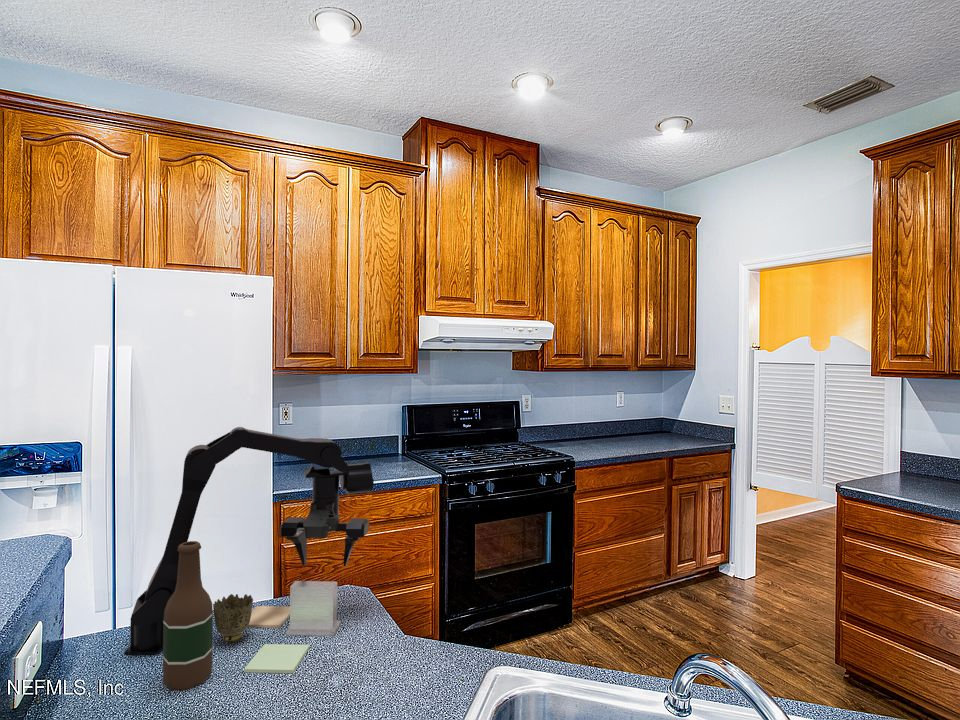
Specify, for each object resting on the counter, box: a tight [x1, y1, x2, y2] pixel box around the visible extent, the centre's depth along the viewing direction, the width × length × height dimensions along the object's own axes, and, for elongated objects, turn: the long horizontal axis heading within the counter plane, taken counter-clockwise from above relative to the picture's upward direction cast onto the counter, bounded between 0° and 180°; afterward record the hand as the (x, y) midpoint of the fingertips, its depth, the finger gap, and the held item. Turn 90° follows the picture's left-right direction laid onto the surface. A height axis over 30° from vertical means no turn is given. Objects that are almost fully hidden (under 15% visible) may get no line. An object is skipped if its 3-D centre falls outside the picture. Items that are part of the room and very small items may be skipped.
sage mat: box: [243, 643, 311, 674], centre depth 104 cm, size 9×9×1 cm
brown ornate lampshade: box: [212, 593, 254, 644], centre depth 111 cm, size 8×7×8 cm
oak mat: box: [247, 605, 290, 629], centre depth 121 cm, size 9×9×1 cm
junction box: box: [285, 580, 342, 637], centre depth 116 cm, size 10×5×10 cm, turn 89°
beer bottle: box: [162, 540, 214, 691], centre depth 98 cm, size 8×8×24 cm
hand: (324, 565), depth 123 cm, fingers open, 9 cm apart
